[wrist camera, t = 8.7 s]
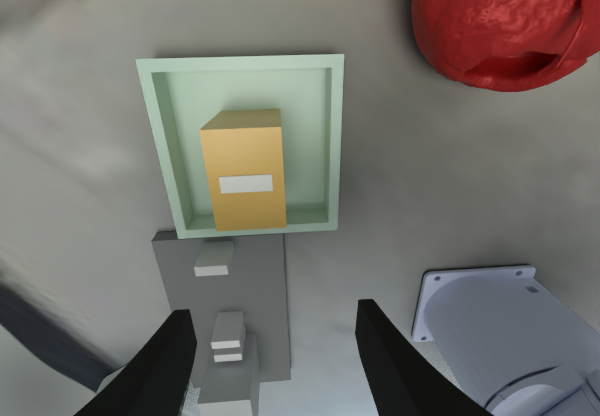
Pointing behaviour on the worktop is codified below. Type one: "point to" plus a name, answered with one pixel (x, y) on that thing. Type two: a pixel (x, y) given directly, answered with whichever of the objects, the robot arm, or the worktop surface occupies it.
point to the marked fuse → (245, 169)
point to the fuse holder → (229, 296)
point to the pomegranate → (506, 40)
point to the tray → (248, 96)
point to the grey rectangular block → (231, 384)
